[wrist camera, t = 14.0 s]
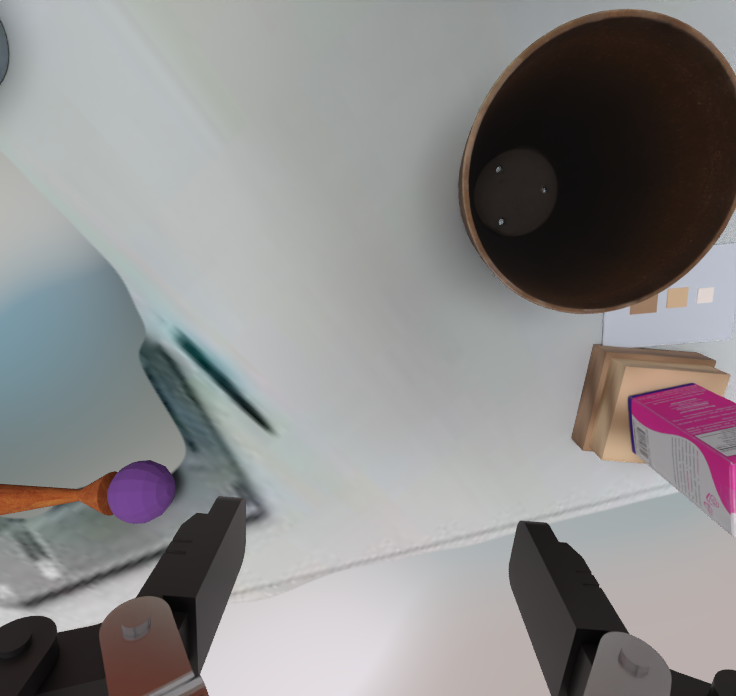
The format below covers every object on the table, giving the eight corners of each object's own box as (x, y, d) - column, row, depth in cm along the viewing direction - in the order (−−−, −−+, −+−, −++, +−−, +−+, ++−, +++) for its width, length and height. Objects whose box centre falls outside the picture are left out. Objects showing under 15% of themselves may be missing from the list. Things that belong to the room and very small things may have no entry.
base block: (593, 344, 42) (621, 360, 38) (696, 352, 42) (738, 370, 38) (571, 438, 45) (595, 464, 40) (668, 446, 45) (703, 473, 40)
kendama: (-44, 484, 43) (147, 472, 41) (12, 462, 49) (181, 450, 47) (-32, 542, 44) (157, 534, 41) (22, 513, 50) (189, 504, 47)
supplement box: (698, 439, 39) (823, 524, 28) (630, 452, 40) (728, 541, 29) (696, 379, 38) (828, 445, 27) (626, 394, 38) (727, 465, 27)
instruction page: (607, 254, 40) (608, 254, 40) (743, 241, 39) (746, 242, 39) (601, 349, 42) (603, 350, 42) (730, 339, 42) (732, 339, 42)
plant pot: (428, 99, 37) (467, 13, 21) (610, 92, 36) (783, 0, 21) (426, 280, 41) (458, 317, 25) (590, 275, 41) (721, 310, 25)
